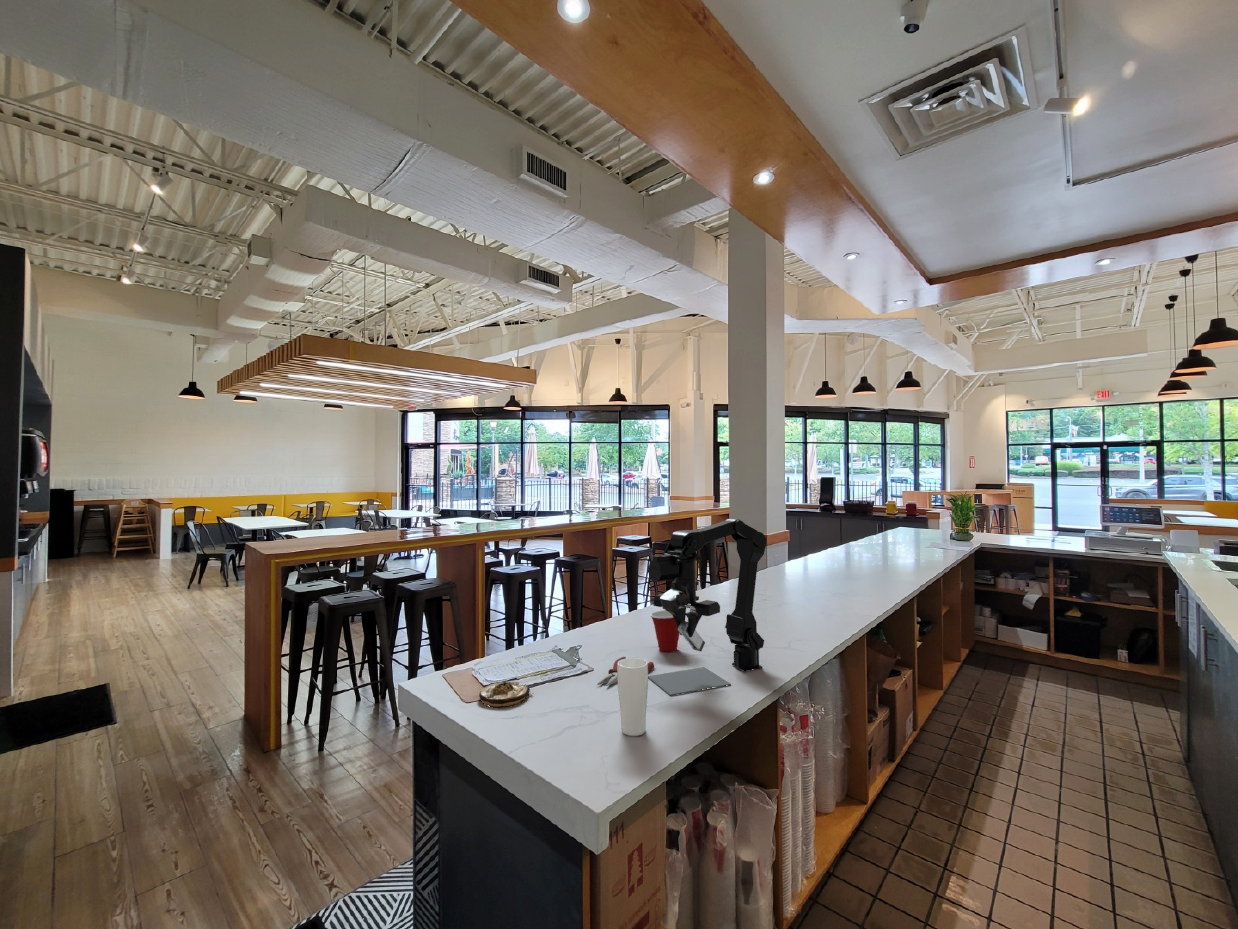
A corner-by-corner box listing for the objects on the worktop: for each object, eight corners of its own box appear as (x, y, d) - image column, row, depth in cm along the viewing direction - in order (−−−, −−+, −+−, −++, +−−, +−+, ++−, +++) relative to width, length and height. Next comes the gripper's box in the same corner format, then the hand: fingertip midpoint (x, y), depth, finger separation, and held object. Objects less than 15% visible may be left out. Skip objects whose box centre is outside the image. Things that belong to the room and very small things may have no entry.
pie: (508, 716, 128) (508, 698, 128) (462, 704, 135) (461, 687, 135) (545, 694, 141) (545, 678, 141) (501, 685, 148) (501, 669, 148)
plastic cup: (661, 642, 182) (661, 606, 182) (690, 647, 176) (689, 610, 176) (644, 651, 173) (643, 613, 174) (673, 657, 167) (672, 618, 167)
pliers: (584, 685, 146) (584, 676, 147) (622, 663, 164) (622, 654, 164) (620, 694, 141) (620, 683, 141) (656, 670, 158) (655, 661, 158)
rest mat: (704, 668, 157) (704, 667, 157) (730, 685, 144) (730, 683, 144) (647, 677, 150) (647, 676, 150) (670, 696, 137) (670, 694, 137)
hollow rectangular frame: (697, 640, 152) (680, 618, 146) (705, 642, 150) (688, 620, 145) (693, 649, 150) (676, 627, 145) (701, 651, 149) (683, 629, 143)
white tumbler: (616, 725, 121) (615, 658, 122) (646, 723, 122) (645, 656, 122) (619, 740, 115) (618, 668, 115) (651, 738, 115) (649, 667, 116)
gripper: (639, 578, 147) (640, 636, 147) (695, 587, 134) (697, 650, 134) (665, 572, 155) (666, 627, 155) (720, 580, 142) (721, 640, 142)
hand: (686, 636), depth 146 cm, fingers closed on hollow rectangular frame, 3 cm apart
